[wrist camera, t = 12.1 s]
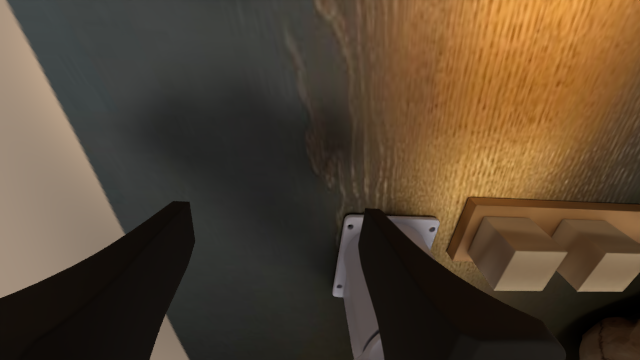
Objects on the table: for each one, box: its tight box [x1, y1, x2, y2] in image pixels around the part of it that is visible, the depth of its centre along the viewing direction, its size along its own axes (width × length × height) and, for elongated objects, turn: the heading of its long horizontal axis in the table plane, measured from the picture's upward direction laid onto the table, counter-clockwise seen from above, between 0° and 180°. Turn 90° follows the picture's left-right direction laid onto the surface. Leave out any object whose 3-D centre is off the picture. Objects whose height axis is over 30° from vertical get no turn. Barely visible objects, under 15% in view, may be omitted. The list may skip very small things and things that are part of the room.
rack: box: [447, 197, 640, 292], centre depth 24 cm, size 6×20×5 cm, turn 85°
